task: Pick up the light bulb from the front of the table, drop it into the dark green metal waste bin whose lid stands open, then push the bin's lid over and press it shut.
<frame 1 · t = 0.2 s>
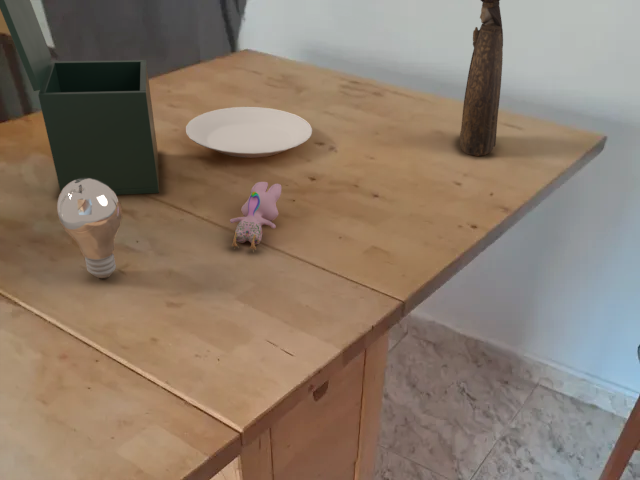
bin lid: (5, 16, 88), point 21 cm above the table, hinge at 100.0°
waste bin: (112, 174, 104), on the table
light bulb: (103, 278, 83), on the table
plate: (249, 143, 115), on the table
rabbit figure: (258, 227, 94), on the table
statue: (474, 147, 118), on the table
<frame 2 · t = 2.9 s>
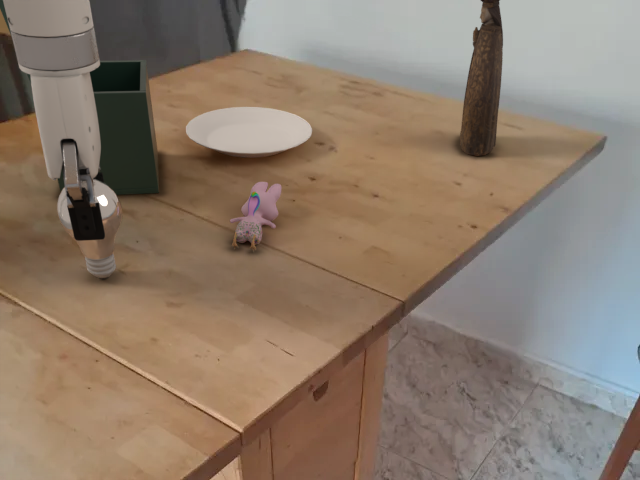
hand: (92, 221, 78), 7 cm above the table, tool pointing down, fingers closed on light bulb, 7 cm apart
light bulb: (103, 278, 83), on the table, touching gripper
everything else where it was.
when the fingers open (20 cm above the table, at t = 10.0 s): light bulb drops 11 cm, resting on waste bin.
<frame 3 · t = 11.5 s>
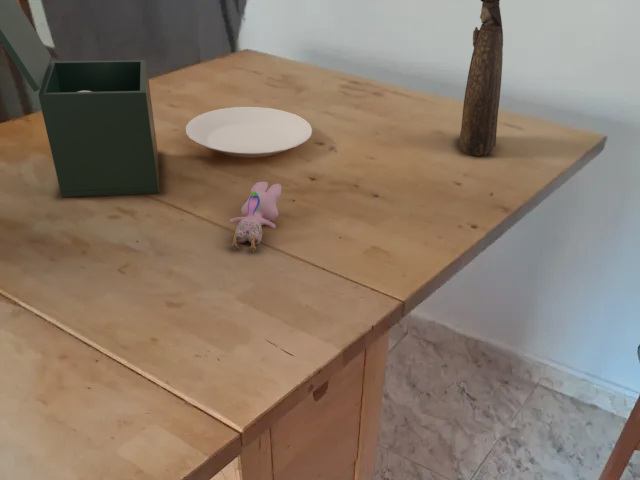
light bulb: (110, 168, 103), point 1 cm above the table, touching waste bin
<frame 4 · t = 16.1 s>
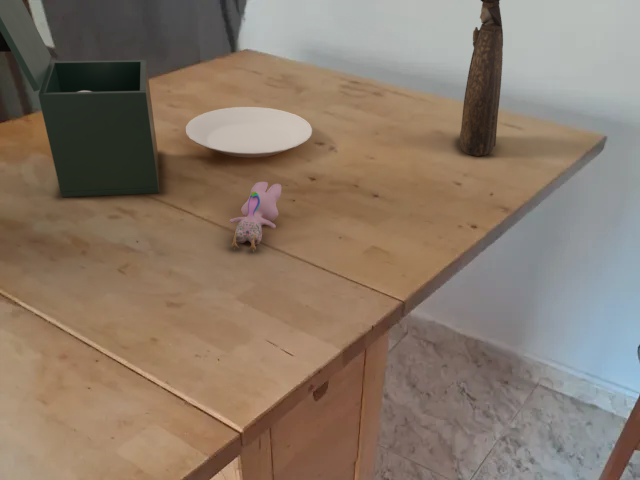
hand: (2, 49, 90), 17 cm above the table, tool pointing down, fingers closed
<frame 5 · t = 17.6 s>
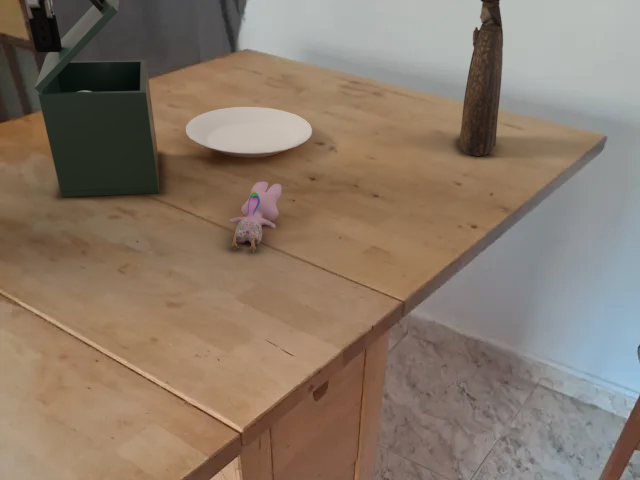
hand: (49, 50, 91), 17 cm above the table, tool pointing down, fingers closed
bin lid: (67, 22, 90), point 20 cm above the table, hinge at 39.1°, touching gripper
everything else where it was.
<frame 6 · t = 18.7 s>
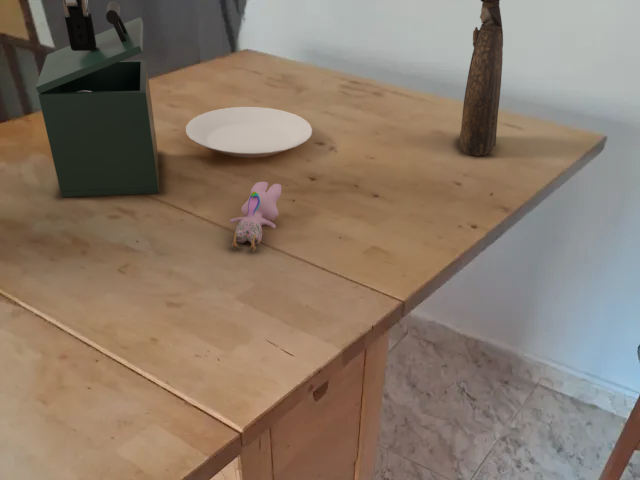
hand: (84, 48, 92), 17 cm above the table, tool pointing down, fingers closed
bin lid: (84, 38, 91), point 18 cm above the table, hinge at 18.9°
everything else where it was.
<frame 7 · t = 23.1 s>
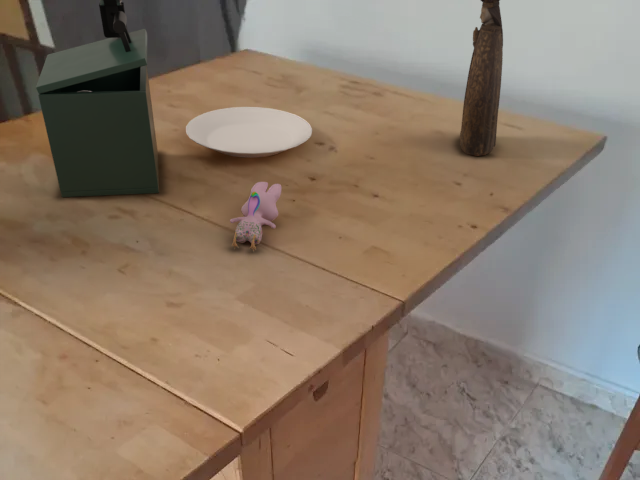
hand: (116, 35, 97), 17 cm above the table, tool pointing down, fingers closed
bin lid: (88, 44, 92), point 18 cm above the table, hinge at 12.9°, touching gripper
everything else where it was.
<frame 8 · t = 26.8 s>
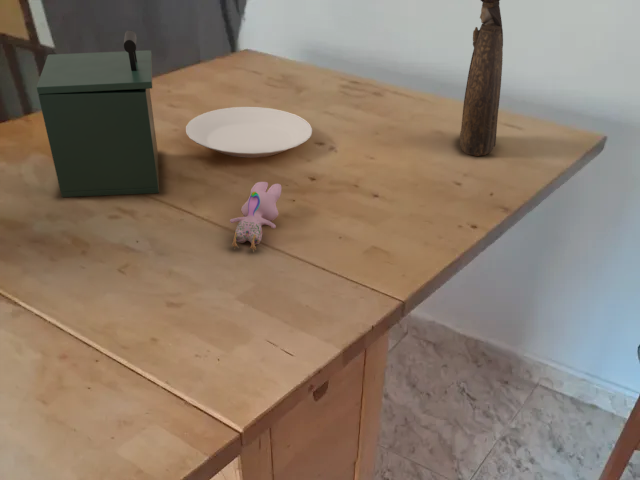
bin lid: (95, 55, 93), point 16 cm above the table, hinge at 1.6°
everything else where it was.
at the end: light bulb inside the target area in the waste bin (0.4 cm from its centre), point 1.1 cm above the waste bin's base; bin lid at +2° (first picture: +100°) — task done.
